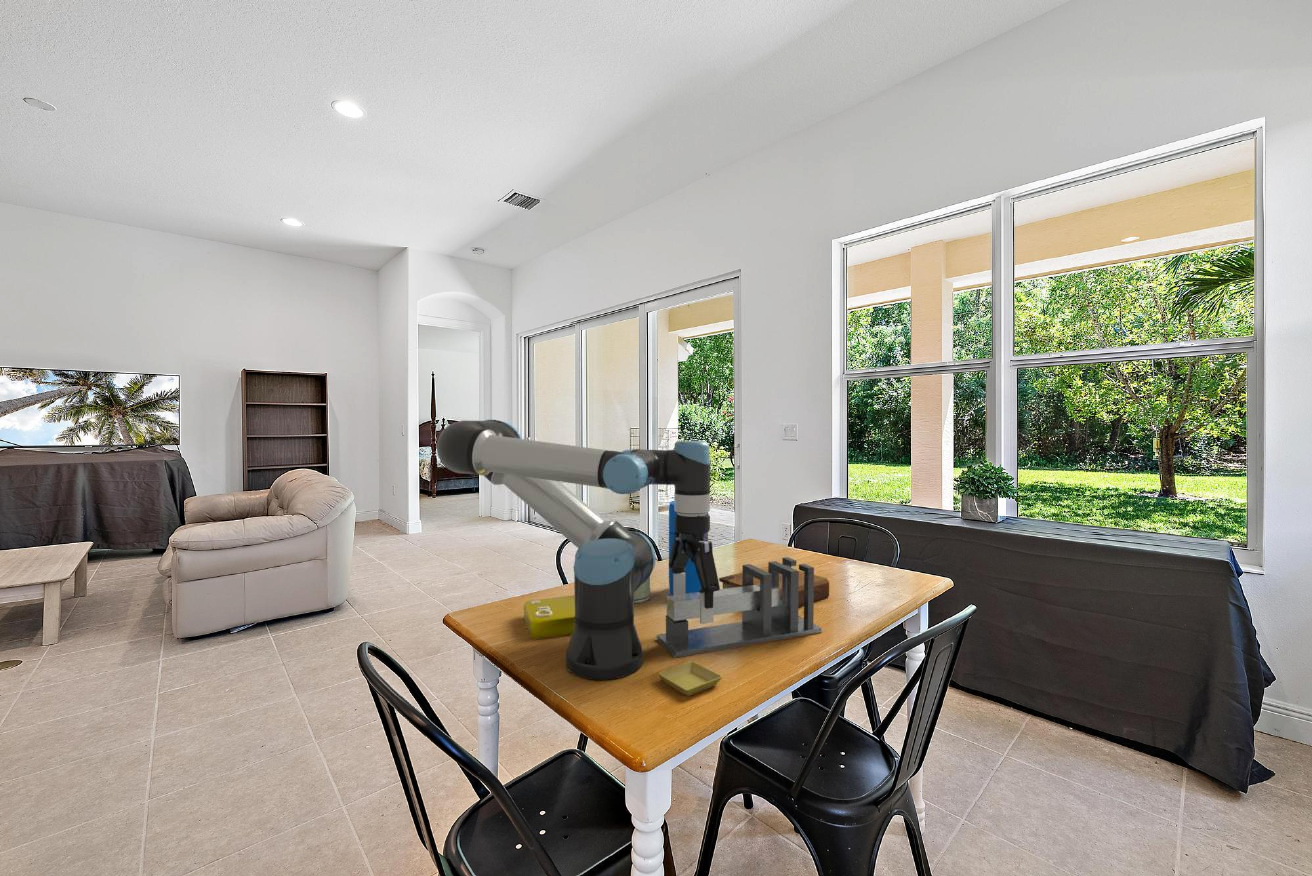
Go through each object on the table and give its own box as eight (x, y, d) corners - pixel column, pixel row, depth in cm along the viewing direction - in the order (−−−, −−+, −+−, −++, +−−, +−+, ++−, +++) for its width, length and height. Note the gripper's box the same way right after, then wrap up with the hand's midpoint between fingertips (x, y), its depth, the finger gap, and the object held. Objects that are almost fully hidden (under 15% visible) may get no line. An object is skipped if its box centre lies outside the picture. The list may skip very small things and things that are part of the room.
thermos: (661, 595, 152) (662, 504, 151) (678, 584, 161) (679, 499, 160) (698, 601, 146) (698, 507, 146) (713, 590, 156) (714, 501, 155)
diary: (772, 618, 136) (772, 595, 135) (719, 598, 150) (719, 577, 150) (829, 599, 150) (829, 578, 149) (775, 582, 164) (775, 563, 164)
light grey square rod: (674, 621, 115) (674, 601, 115) (666, 615, 119) (666, 595, 119) (780, 606, 124) (780, 587, 124) (770, 600, 128) (770, 582, 128)
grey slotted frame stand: (675, 657, 112) (675, 584, 111) (657, 639, 121) (657, 571, 121) (821, 632, 125) (822, 566, 125) (794, 617, 134) (795, 556, 134)
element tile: (598, 631, 126) (598, 611, 126) (531, 641, 121) (531, 619, 121) (583, 610, 140) (583, 591, 140) (522, 618, 135) (522, 598, 135)
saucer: (656, 683, 102) (656, 672, 102) (692, 670, 107) (692, 659, 107) (686, 702, 95) (686, 690, 95) (723, 687, 100) (723, 676, 100)
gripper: (737, 522, 108) (736, 629, 108) (684, 503, 131) (684, 592, 132) (702, 524, 105) (702, 635, 106) (654, 505, 128) (654, 596, 129)
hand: (692, 611), depth 119 cm, fingers open, 13 cm apart
